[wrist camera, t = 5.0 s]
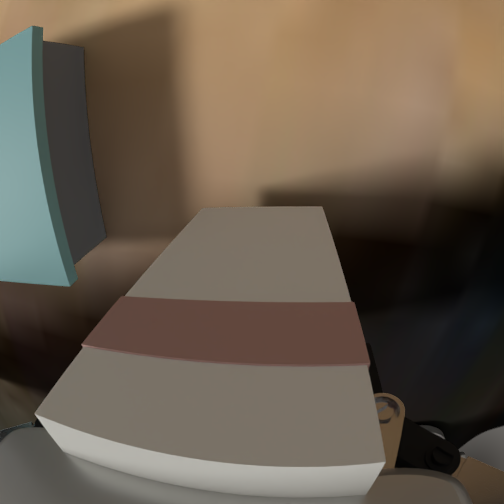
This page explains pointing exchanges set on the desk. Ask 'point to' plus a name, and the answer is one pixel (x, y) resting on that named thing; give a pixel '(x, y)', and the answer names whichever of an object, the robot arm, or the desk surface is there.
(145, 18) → the desk surface
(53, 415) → the carton
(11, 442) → the robot arm
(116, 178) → the desk surface
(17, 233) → the podium
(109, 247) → the desk surface
